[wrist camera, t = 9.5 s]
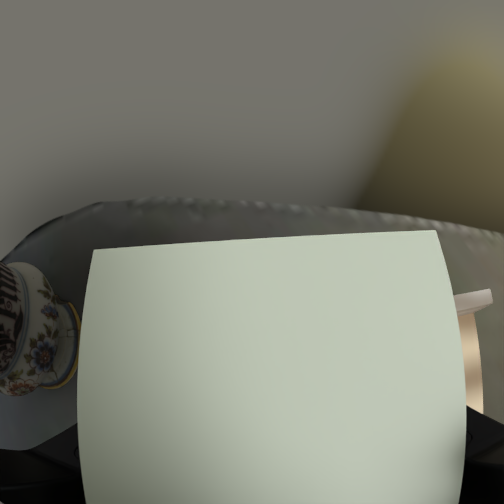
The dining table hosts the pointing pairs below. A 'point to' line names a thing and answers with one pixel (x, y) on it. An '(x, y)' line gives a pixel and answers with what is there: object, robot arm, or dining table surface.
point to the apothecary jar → (35, 332)
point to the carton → (272, 373)
